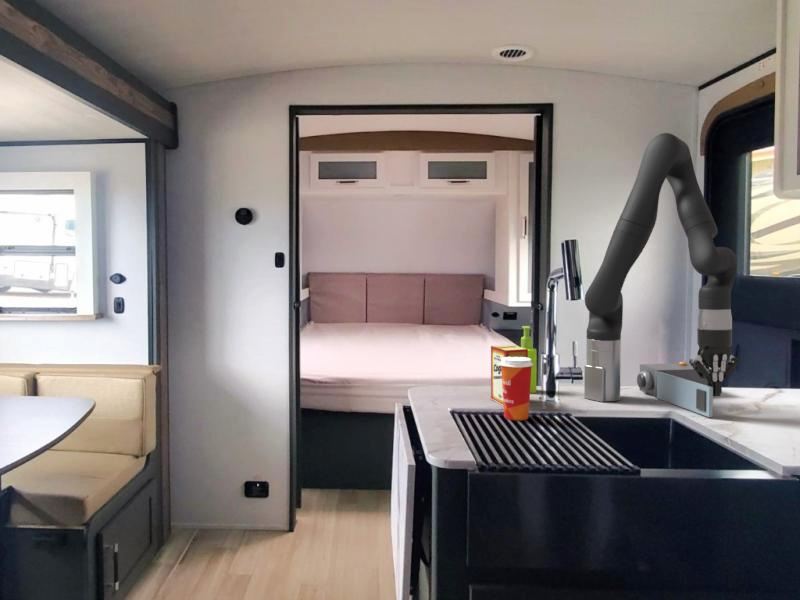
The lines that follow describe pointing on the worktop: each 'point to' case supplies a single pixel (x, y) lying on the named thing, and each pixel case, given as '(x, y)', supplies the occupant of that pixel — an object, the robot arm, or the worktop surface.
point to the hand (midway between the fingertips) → (714, 395)
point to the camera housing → (676, 369)
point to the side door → (684, 393)
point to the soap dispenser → (530, 356)
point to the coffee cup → (516, 387)
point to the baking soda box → (496, 374)
